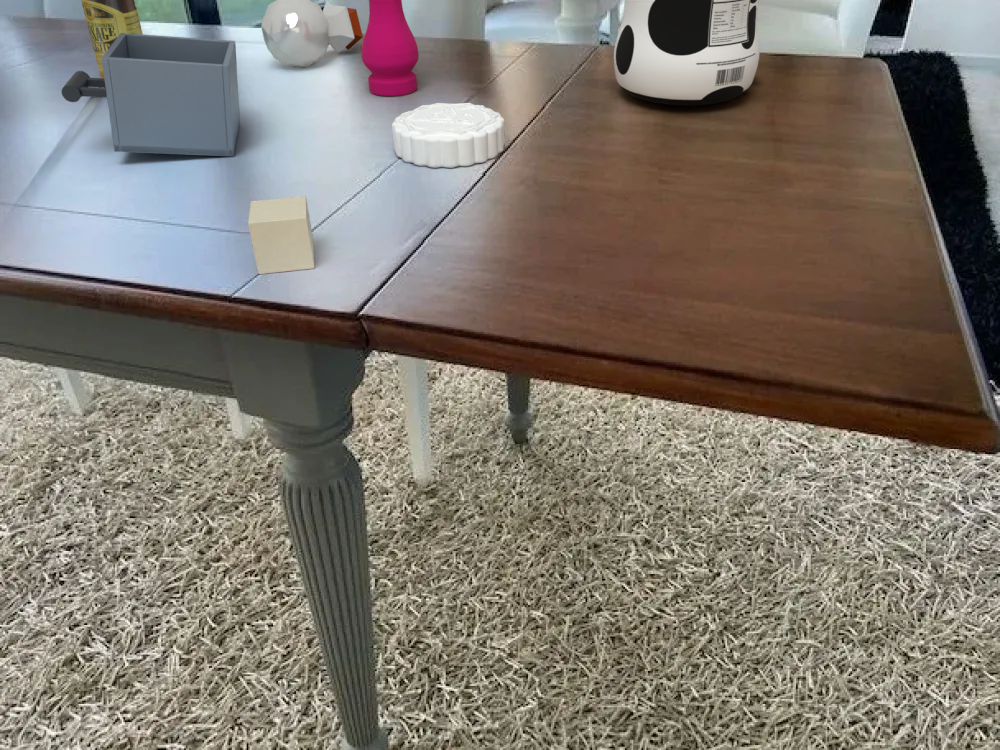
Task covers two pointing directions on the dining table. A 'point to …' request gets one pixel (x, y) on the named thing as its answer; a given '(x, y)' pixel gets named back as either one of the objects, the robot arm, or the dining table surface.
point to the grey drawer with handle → (167, 94)
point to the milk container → (687, 50)
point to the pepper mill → (389, 50)
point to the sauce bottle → (109, 23)
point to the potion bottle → (308, 30)
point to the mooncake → (448, 135)
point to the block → (281, 235)
